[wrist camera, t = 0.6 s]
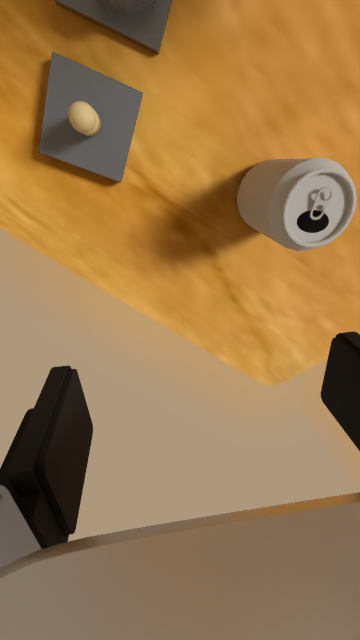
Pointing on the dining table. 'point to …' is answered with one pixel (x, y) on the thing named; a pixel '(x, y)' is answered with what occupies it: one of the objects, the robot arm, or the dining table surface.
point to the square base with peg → (88, 118)
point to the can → (297, 201)
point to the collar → (126, 5)
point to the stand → (126, 20)
